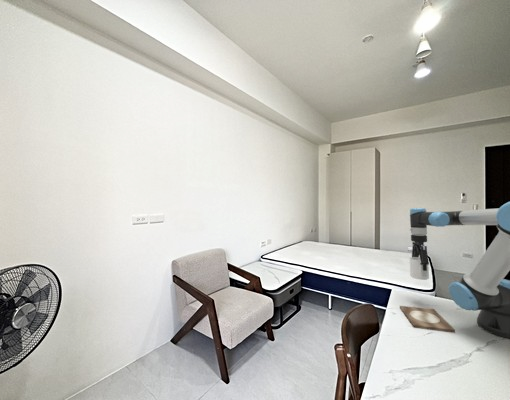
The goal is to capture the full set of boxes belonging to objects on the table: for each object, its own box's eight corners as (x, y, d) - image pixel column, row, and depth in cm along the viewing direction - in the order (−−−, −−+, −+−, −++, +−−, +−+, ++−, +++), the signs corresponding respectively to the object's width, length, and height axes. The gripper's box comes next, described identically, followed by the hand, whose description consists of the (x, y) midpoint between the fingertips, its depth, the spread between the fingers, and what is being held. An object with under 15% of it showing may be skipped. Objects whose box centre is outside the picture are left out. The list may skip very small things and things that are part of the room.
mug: (432, 276, 128) (431, 257, 128) (426, 281, 120) (426, 261, 121) (414, 272, 135) (413, 255, 135) (408, 277, 127) (407, 258, 127)
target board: (434, 311, 118) (434, 309, 118) (455, 332, 99) (455, 329, 99) (399, 307, 123) (399, 305, 123) (413, 327, 104) (413, 324, 104)
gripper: (404, 232, 140) (406, 267, 139) (418, 237, 118) (420, 279, 117) (418, 232, 137) (420, 268, 137) (435, 237, 116) (437, 280, 115)
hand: (420, 273), depth 127 cm, fingers closed on mug, 10 cm apart
